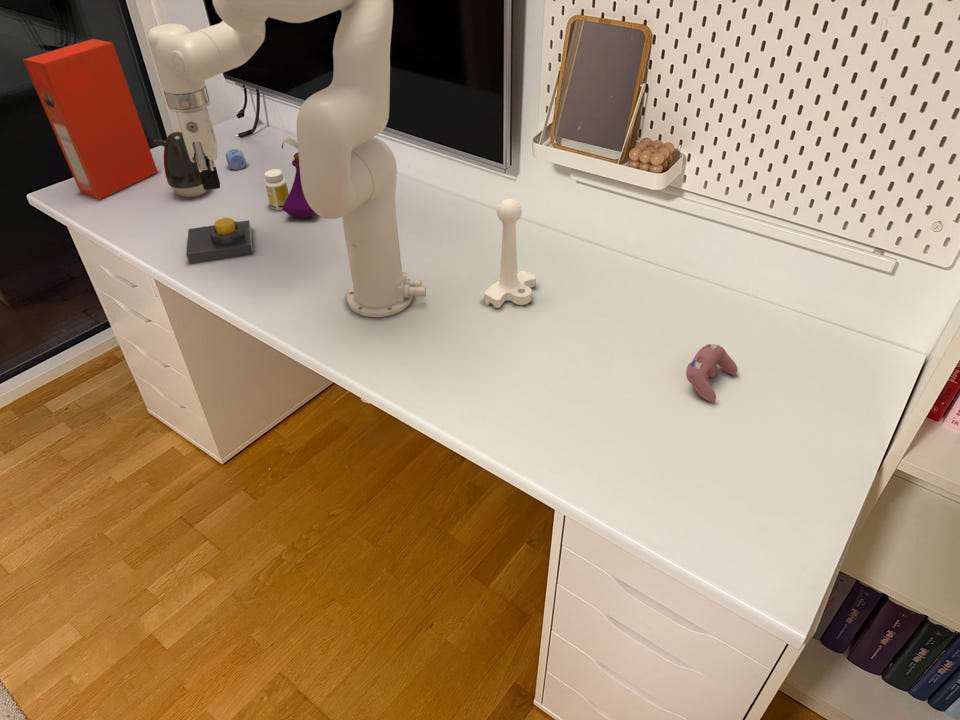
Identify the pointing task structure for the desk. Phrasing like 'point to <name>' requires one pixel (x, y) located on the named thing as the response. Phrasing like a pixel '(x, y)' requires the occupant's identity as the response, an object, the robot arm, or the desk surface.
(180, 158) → the pump dispenser
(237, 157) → the decorative dice
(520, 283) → the joystick
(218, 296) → the desk surface
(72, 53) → the file binder
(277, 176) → the supplement bottle
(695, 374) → the video game controller
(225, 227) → the button
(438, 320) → the desk surface
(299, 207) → the perfume bottle
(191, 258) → the console
